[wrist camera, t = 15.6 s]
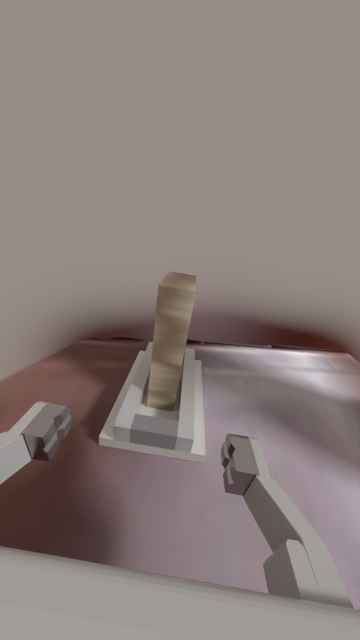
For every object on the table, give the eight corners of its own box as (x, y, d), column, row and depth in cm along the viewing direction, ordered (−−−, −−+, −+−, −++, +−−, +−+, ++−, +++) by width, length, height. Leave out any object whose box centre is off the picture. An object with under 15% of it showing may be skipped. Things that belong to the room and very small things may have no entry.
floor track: (200, 366, 30) (203, 350, 29) (202, 462, 17) (210, 442, 16) (139, 356, 30) (140, 340, 29) (99, 445, 18) (97, 423, 16)
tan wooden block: (178, 374, 26) (196, 275, 20) (173, 411, 21) (195, 291, 15) (157, 371, 26) (169, 271, 20) (146, 406, 21) (158, 285, 15)
